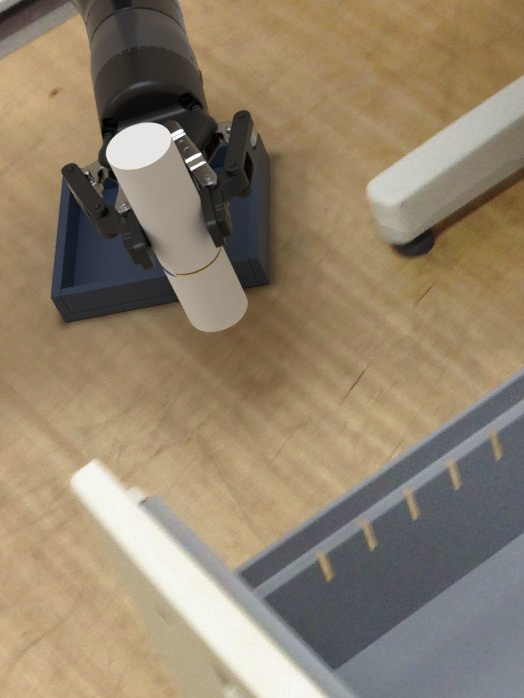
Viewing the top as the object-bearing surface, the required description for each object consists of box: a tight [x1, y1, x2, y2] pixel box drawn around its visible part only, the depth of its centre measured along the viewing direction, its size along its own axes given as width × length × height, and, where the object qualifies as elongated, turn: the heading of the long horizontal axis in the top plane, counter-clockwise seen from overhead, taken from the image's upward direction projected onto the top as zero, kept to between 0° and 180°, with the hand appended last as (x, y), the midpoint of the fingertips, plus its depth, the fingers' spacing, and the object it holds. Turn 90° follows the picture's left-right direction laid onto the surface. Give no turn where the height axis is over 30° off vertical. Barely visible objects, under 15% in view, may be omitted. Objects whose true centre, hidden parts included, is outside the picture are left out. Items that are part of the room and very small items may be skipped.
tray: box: [50, 132, 271, 323], centre depth 144 cm, size 17×15×3 cm
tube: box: [106, 123, 249, 333], centre depth 120 cm, size 4×4×15 cm
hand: (181, 247), depth 118 cm, fingers closed on tube, 4 cm apart
